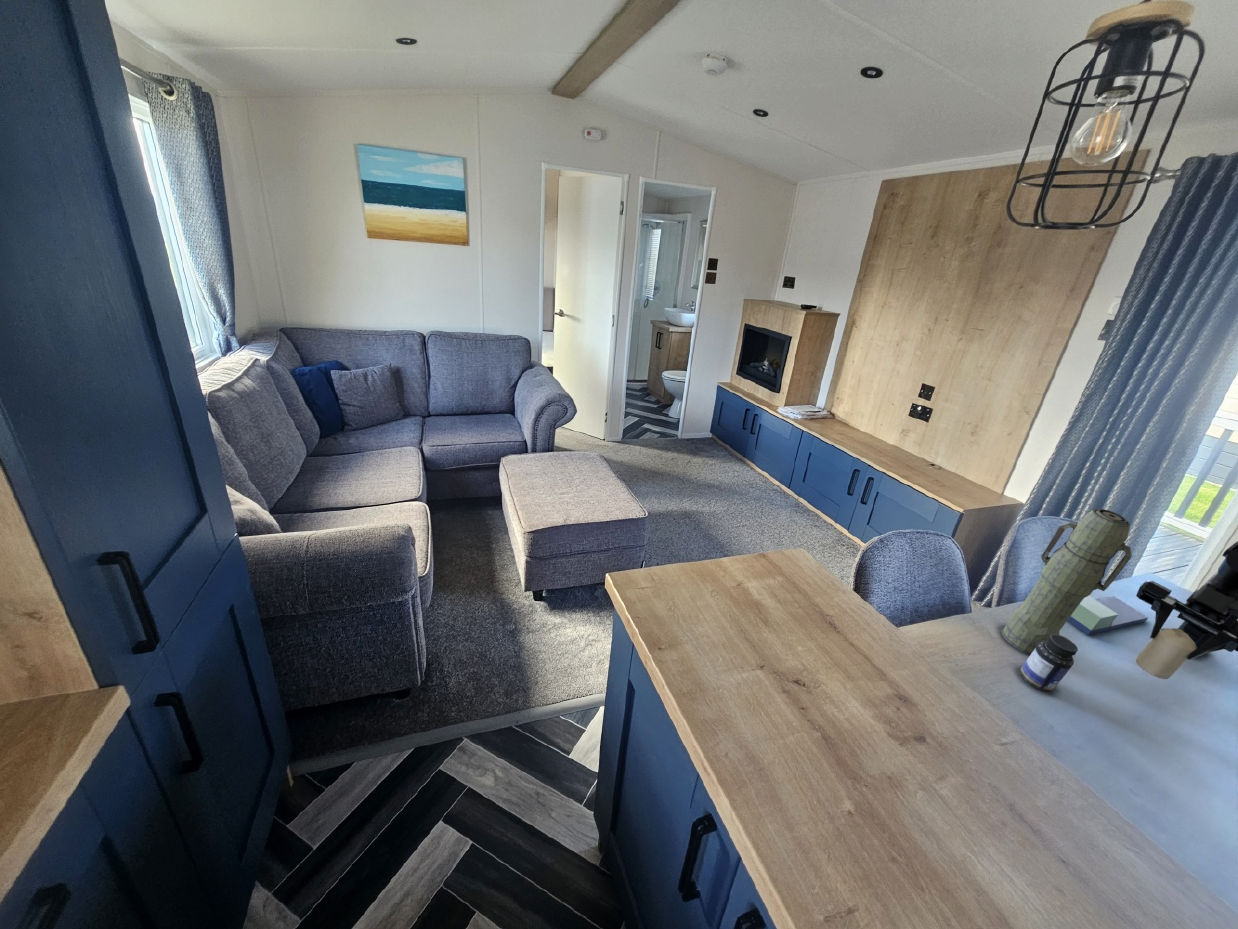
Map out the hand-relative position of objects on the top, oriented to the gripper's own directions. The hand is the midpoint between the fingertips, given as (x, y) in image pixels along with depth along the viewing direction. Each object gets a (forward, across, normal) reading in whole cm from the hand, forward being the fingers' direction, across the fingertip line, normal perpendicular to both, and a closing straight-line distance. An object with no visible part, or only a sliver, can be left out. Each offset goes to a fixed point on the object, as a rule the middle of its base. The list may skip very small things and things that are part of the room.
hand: (1169, 647), depth 103 cm
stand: (-8, -14, +27) cm, 32 cm away
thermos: (+15, -18, +4) cm, 24 cm away
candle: (+4, 0, +6) cm, 7 cm away
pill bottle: (+22, -10, -4) cm, 25 cm away
